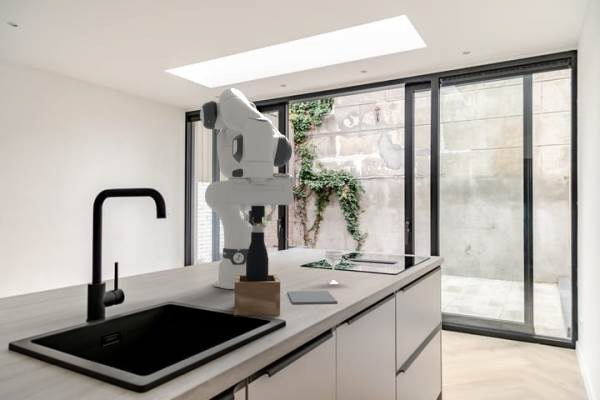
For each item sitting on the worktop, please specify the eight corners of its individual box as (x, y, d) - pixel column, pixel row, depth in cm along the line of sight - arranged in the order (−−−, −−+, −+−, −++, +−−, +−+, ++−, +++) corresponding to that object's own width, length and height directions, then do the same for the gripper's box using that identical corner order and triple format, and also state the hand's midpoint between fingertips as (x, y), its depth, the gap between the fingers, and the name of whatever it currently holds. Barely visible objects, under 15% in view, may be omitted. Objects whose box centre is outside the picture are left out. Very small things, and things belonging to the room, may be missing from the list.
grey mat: (287, 293, 142) (287, 291, 142) (327, 292, 143) (327, 290, 144) (292, 304, 126) (292, 302, 126) (337, 303, 128) (337, 301, 128)
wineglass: (321, 282, 162) (321, 252, 163) (330, 280, 168) (330, 250, 168) (336, 284, 158) (336, 253, 159) (344, 282, 164) (345, 251, 164)
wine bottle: (264, 313, 115) (265, 205, 115) (242, 311, 116) (243, 205, 116) (270, 307, 121) (271, 205, 122) (249, 306, 122) (250, 205, 123)
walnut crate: (235, 305, 124) (236, 275, 124) (276, 304, 125) (277, 274, 126) (234, 315, 112) (234, 282, 112) (279, 314, 113) (280, 282, 113)
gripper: (293, 174, 124) (292, 220, 123) (223, 173, 121) (223, 220, 121) (295, 172, 117) (294, 221, 117) (222, 171, 115) (221, 220, 115)
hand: (257, 220), depth 119 cm, fingers open, 5 cm apart
